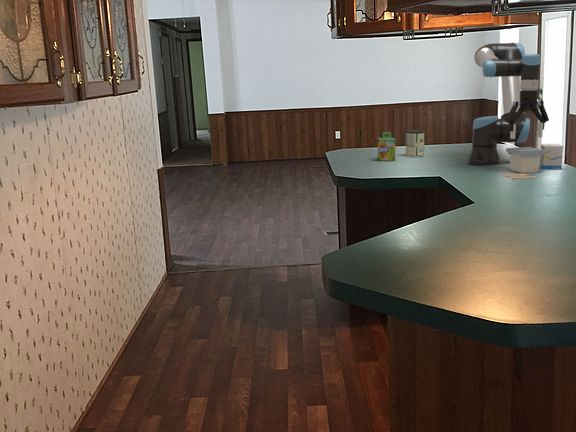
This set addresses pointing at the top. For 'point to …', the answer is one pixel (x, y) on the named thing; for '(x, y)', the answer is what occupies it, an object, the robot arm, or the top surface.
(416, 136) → the cream miniature cabinet
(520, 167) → the crate
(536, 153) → the lid
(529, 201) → the top surface
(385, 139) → the chalk box
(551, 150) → the ink box
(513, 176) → the mat
